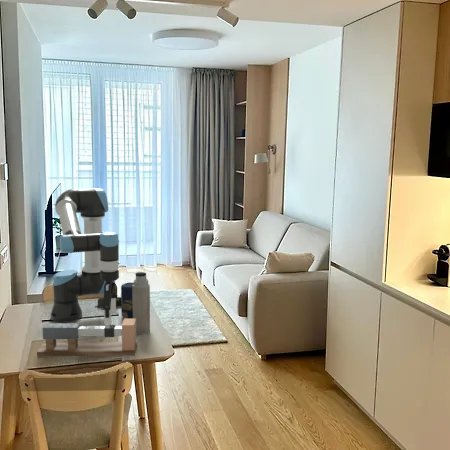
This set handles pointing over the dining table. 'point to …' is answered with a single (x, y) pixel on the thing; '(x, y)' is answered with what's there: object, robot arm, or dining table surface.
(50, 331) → the charcoal sleeve
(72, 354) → the walnut base board
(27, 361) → the dining table surface
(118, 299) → the dark green bar
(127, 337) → the terracotta socket block
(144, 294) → the thermos bottle
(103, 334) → the telescoping tube
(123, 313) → the canister
